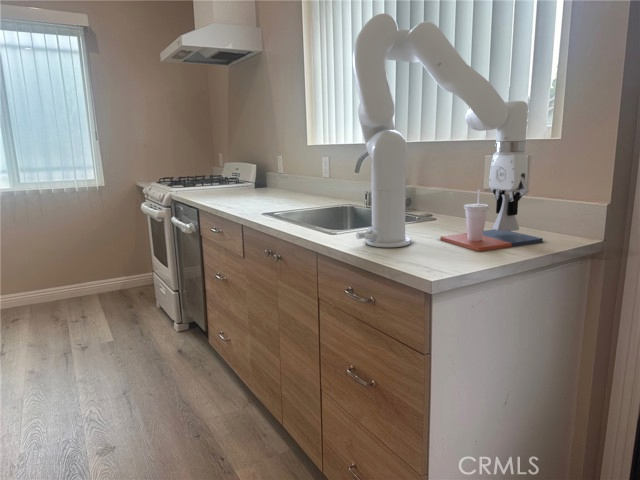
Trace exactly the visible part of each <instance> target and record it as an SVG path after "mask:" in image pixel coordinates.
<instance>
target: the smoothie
mask: <svg viewBox="0 0 640 480" xmlns="http://www.w3.org/2000/svg"><path fill="white" fill-rule="evenodd" d="M476 201H477V202H476V203H466V204H464V205H463V209H464V210H465V211H464V212H465V222H466V233H467V235H468V240H470V241H481V240H482V236H483V231H485V225H486V220H487V219H486V218H487V215H488V210H489V205H488V204H485V203H480V202H481V189H479V188H478V189H477V200H476Z"/></svg>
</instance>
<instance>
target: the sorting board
mask: <svg viewBox="0 0 640 480" xmlns="http://www.w3.org/2000/svg"><path fill="white" fill-rule="evenodd" d="M440 241H443V242H446V243H449V244H452V245H456V246H460V247H462V248H466V249H468V250H472V251H476V252H485V251H493V250H499V249H504V248H511V247H518V246H524V245H532V244H537V243H543V241H544V238H543V237H539V236H534V235H529V234H525V233H521V232H516V231H500V230H495V229H488V230H484V231H483V236H482V240H481V241H470V240H468V235H467V232H465V233H456V234H449V235H441V236H440Z"/></svg>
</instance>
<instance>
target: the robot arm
mask: <svg viewBox="0 0 640 480" xmlns="http://www.w3.org/2000/svg"><path fill="white" fill-rule="evenodd" d="M351 60H352V61H351V62H352V63H351V64H352V71H353V77H354V81H355V85H356V90H357V94H358V99H359V104H358V109H357V116H358V121H359V124H360V128H361V132H362V136H363V140H364V145H365V148H366V151H367V153H368V156H369V157H370V159H371V169H370V170H371V171H370V188H371V189H370V190H371V191H370V193H371V195H370V196H371V226H370V227H368V229H367V230H366V231H358V232H356V233H355V237H356V239H357V240H362V239H364V240H366V244H367V245H369V246H372V247H377V248H400V247H407V246H408V245H410V244H411V243H412V240H411V239H412V238H410V237H409V236H407V235H406V192H407V191H406V189H407V188H406V186H407V185H406V181H407V163H408V150H409V149H408V144H407V140H406V139H405V137H404V136H403V135H402V134H401V133H400V132H399V131H397V130H396V127H395V123H394V119H393V118H394V117H395V113H396V104H395V101H394V100H395V99H394V96H393V93H392V89H391V85H390V82H389V78H388V72H387V68H386V61H394V62H404V63H405V62H406V63H420V64H421V65H422V66H423V69H425V70H426V71H427V73H428V74H429V75H430V77H431V78H432V79H433V80H434V82H435V84H436V85H438V86H439V87H440V88H441V89H443V90H444V91H446V92H448V93H451V94H453V95H455V96H457V97H458V98H460V99H461V100H462V101H463V102H464V103H465V104H466V106H468V107H469V108H468V110H467V112H466V113H465V123H466V125H467V126H468V127H469V128H470V129H472V130H473V131H478V132H483V131H484V132H485V131H493V130H496V133H495V134H496V135H495V145H494V149H495V153H493V155H492V156H491V157H492V158H491V162H490V168H489V177H488V189H489V190H490V191H491V192H492V193H493V195H494V199H495V200H496V203H495V204H496V205H495V213H496V214H499V212H500V209H501V206H502V201H503V197H502V194H507V191H508V194H509V199H510V201H508V205H507V215H508V216H511V215H515V216H517V215H518V213H519V212H518V208H519V202H520V201H521V198H522V197H523V196H525V195H526V194H528V193H529V188H528V177H529V174H528V173H529V171H528V168H529V167H528V157H527V153H526V145H527V144H526V143H527V127H528V116H529V115H528V113H529V105H528V103H527V102H526V101H524V100H512V101H511V100H510V101H505V100H504V99H503V98H502V97H501V95H500V93H499V92H498V91H497V90H496V89H495V88H494V86H493V85H492V84H491V83H490V81H488V80H487V79H486V78H485V77H484V76H483V75H481V73H479V72H478V71H476V69H474V68H473V67H471V66H470V65H468V63H467V62H466V61H465V60H464V59H463V57H462V56H461V55H460V54H459V52H458V51H457V50H456V48H455V47H454V46H453V45H452V43H451V42H450V40H449V39H448V38H447V37H446V35H445V33H444V32H443V31H442V30H441V29H440V27H439V26H438V25H437V24H435V23H434V22H432V21H431V20H424V21H421V22H419V23H418V24H416V25H415V26H413V28H412V29H405V28H399V27H398V23H397V20H395V18H394V17H393V16H392V15H390V14H388V13H378V14H376V15H374V16H372V17H371V18H370V19H369V20H368V21H367V22H366V23H365V24H364V25H363V27H362V28H361V29H360V31H359V33H358V34H357V36H356V39H355V42H354V46H353V50H352V59H351Z"/></svg>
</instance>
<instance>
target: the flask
mask: <svg viewBox="0 0 640 480" xmlns="http://www.w3.org/2000/svg"><path fill="white" fill-rule="evenodd" d="M502 197H503V201H502V206H501V209H500V212H499V214H498V215H497V217H496V218H495V222H494V224H493V226H492V230H494V229H495V230H500V231H512V232H516V231H519V230H520V226H519V222H518V220H517V217H516V216H517V215H511V216H508V215H507V205H508V201H510V199H509V193H506V194H502Z"/></svg>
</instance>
